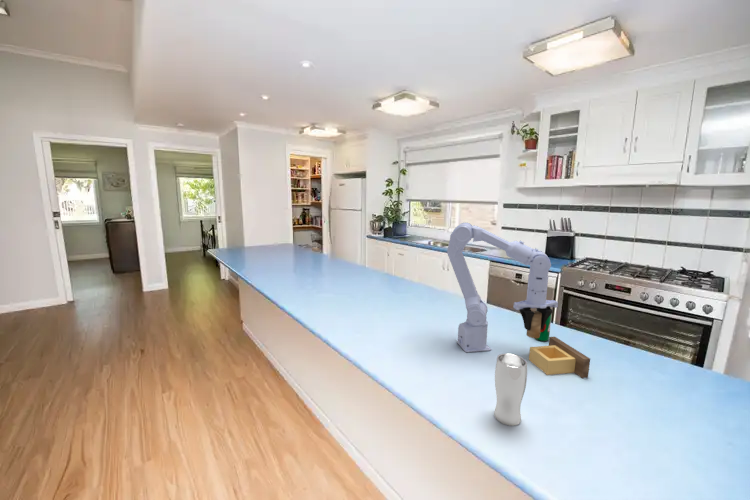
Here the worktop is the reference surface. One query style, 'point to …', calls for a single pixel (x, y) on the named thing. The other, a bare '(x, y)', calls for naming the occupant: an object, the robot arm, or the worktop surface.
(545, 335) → the soda can
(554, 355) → the socket block
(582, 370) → the walnut wall
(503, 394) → the beer glass
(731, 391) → the worktop surface
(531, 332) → the dowel
